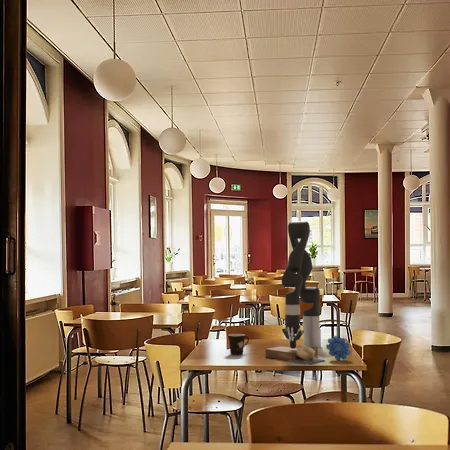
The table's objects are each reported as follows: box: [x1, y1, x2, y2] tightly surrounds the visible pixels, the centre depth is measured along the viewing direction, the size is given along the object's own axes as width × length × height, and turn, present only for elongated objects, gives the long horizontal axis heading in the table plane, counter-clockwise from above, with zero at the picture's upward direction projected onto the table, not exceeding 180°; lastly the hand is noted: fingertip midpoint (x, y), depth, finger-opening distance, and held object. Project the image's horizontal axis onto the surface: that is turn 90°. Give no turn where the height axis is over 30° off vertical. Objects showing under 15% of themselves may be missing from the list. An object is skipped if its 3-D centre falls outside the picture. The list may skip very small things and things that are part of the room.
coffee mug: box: [228, 333, 250, 356], centre depth 329 cm, size 12×9×10 cm
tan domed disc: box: [296, 344, 316, 360], centre depth 308 cm, size 9×9×3 cm
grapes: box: [326, 335, 351, 361], centre depth 309 cm, size 12×7×12 cm, turn 82°
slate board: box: [289, 357, 326, 365], centre depth 306 cm, size 13×11×1 cm
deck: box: [265, 345, 300, 362], centre depth 318 cm, size 12×18×4 cm, turn 42°
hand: (292, 348), depth 316 cm, fingers closed
